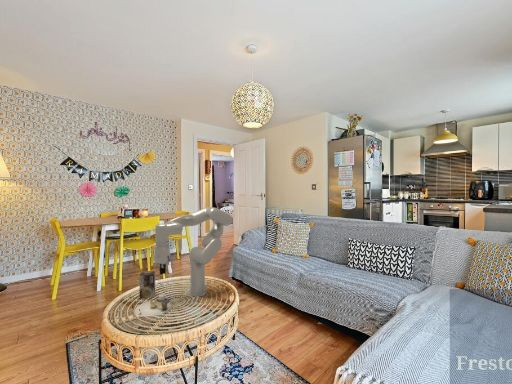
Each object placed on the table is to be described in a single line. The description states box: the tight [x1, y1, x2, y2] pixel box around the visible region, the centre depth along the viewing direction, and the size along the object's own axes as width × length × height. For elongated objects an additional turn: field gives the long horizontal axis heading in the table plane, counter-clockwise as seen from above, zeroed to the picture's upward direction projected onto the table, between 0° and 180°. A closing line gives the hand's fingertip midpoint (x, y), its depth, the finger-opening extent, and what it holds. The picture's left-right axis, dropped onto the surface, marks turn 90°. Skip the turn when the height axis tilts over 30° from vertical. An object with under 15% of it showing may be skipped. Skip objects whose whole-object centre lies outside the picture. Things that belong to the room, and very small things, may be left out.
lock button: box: [157, 293, 166, 302], centre depth 150 cm, size 4×4×4 cm
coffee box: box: [139, 270, 156, 300], centre depth 160 cm, size 9×6×16 cm
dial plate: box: [134, 297, 173, 318], centre depth 144 cm, size 20×20×3 cm
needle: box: [149, 298, 168, 310], centre depth 143 cm, size 12×4×4 cm, turn 69°
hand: (162, 273), depth 151 cm, fingers closed
